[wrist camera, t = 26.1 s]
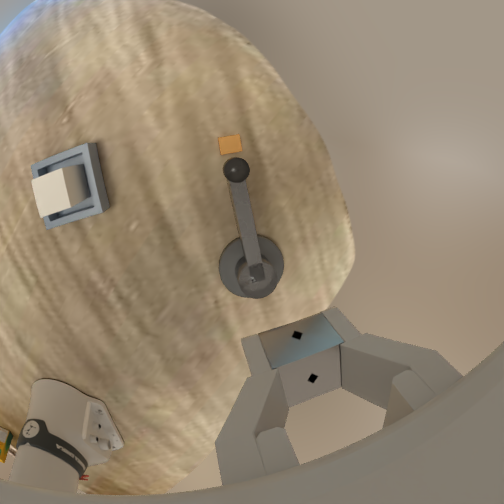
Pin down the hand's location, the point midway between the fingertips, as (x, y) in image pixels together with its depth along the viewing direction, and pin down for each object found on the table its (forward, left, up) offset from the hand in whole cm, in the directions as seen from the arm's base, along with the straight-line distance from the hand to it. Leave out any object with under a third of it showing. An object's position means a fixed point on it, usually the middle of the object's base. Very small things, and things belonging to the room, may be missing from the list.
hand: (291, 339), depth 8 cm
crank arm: (-4, -2, -25) cm, 25 cm away
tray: (+6, +16, -26) cm, 32 cm away
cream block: (+6, +16, -26) cm, 31 cm away
